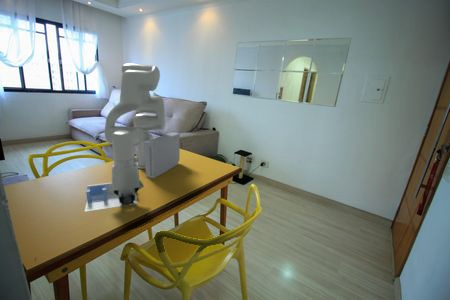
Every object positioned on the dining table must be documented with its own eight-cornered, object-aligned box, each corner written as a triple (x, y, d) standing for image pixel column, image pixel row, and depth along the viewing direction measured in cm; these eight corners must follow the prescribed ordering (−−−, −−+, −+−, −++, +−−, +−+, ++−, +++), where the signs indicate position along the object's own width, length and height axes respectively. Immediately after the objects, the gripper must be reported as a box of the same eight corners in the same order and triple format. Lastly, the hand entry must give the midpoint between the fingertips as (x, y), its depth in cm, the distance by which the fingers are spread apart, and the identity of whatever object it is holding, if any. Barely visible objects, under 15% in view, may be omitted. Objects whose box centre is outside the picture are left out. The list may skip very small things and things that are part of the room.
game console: (144, 177, 117) (142, 141, 111) (171, 161, 142) (171, 132, 136) (153, 179, 115) (152, 143, 109) (179, 163, 140) (179, 133, 134)
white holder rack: (89, 193, 97) (88, 182, 96) (135, 187, 105) (134, 177, 104) (84, 212, 83) (82, 200, 82) (137, 204, 91) (136, 192, 90)
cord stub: (123, 194, 98) (122, 187, 97) (130, 193, 99) (130, 186, 98) (123, 205, 89) (122, 198, 88) (131, 204, 90) (131, 197, 89)
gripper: (145, 157, 92) (147, 195, 98) (101, 160, 85) (105, 201, 91) (147, 163, 86) (149, 204, 91) (100, 167, 79) (104, 211, 84)
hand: (127, 202), depth 91 cm, fingers closed on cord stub, 3 cm apart
